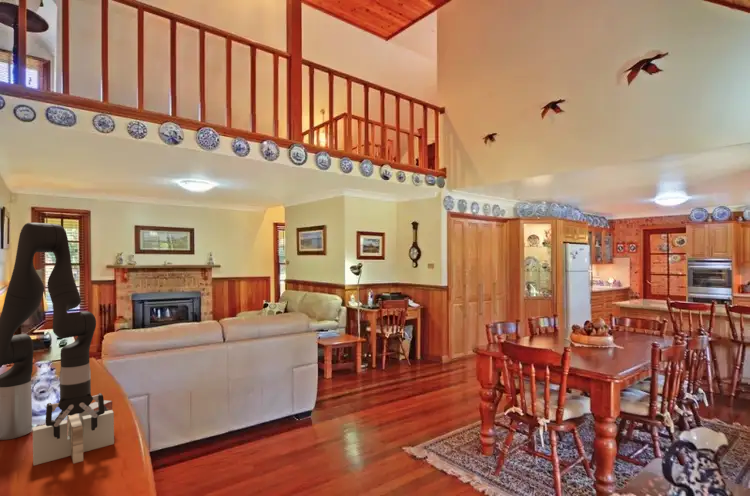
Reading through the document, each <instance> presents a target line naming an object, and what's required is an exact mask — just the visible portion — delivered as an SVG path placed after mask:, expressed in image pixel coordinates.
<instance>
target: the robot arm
mask: <svg viewBox="0 0 750 496" xmlns="http://www.w3.org/2000/svg"><path fill="white" fill-rule="evenodd" d="M69 244H70V243H69V239H68V234H67V231H66V230H65V228H64V227H63V226H62V225H61V224H57V223H47V222H27V223H25V224H24V225H23V226H22V228H21V230H20V233H19V237H18V242H17V248H16V255H15V260H14V265H13V270H12V273H11V276H10V280H9V283H8V287H7V290H6V293H5V297H4V300H3V306H2V310H1V312H0V367H1V366H7V365H12V366H11V367H10V368H9V369H8V370H6V371H4V372H3V373H1V374H0V441H3V440H4V441H5V440H11V439H12V440H13V439H16V438H20V437H23V436H25V435H27V434H29V433H31V432H33V416H32V415H33V413H32V412H33V410H32V409H33V408H32V405H33V403H32V401H33V399H32V397H33V395H32V375H33V370H34V369H33V368H34V367H33V365H34V342H33V338H32V337H31V336H30V335H29V334H27V333H20V334H15V333H16V332H17V330H19V328H20V326H22V325H23V324H24V323H25V322H26V321H27V320H28V319H30V317H32V316H33V314H35V313H36V311H37V310H38V309H39V307H40V306H41V303H42V299H43V297H44V296H43V295H44V292H45V286H44V282H43V281H42V279H41V277H40V275H39V274H38V272H37V270H36V268H35V265H34V257H35V255H36V253H53V255H54V257H55V264H54V267H53V269H52V271H51V272H50V275H49V277H48V280H47V291H48V295H49V297H50V301H51V303H52V310H53V312H52V313H53V314H52V332H53V334H54V335H55V336H56V337H57V338H59V339H69V338H74V337H77V338H76V339H75V341H73V342H72V343H69V344H67V345H64V346H63V347H62V348H61V349H60V371H59V378H58V379H59V401H58V402H56V403H55V402H54V403H51V402H48V403H46V409H45V410H46V411H45V425H46V426H53V431H54V437H57V439H60V425H59V424H60V423H61V422H62V421H64V420H66V419H65V418H67V415H70V416H71V415H74V414H78V415H79V414H80V413H83V412H84V411H86V412H87V413H88V414H90V415H91V416H92V417H91V430H92V431H93V430H95V428H97V417H98V416H99V415H101V414H104V412H105V411H104V400H105V399H104V395H103V393H101V392H99V393H97V394H96V395H92V386H91V385H92V379H91V375H92V374H91V366H90V365H91V364H90V347H91V345H92V340H93V337H94V334H95V331H96V326H97V320H96V317H95V315H94V314H93V313H92V312H90V311H87V310H86V311H77V312H72V313H69V312H68V311H70V310H72V309H75V308H77V307H79V306H80V305H81V303H82V298H81V294H80V292H79V289H78V285H77V284H76V281H75V278H74V273H73V267H72V258H71V251H70V246H69ZM14 334H15V335H14ZM93 401H94V402H98V408H99V410H97V411H96V412H95V411H94V410H93V409H92V408H91V407H90V406H89V405H90V404H91V403H93ZM57 408H59V410H61V411H60V412H59V413H58V415H57V416H56V418H55V419H53V417H52V416H53V413H54V412H55V411H56V409H57ZM52 419H53V420H52Z"/></svg>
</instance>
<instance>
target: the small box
mask: <svg viewBox="0 0 750 496" xmlns="http://www.w3.org/2000/svg"><path fill="white" fill-rule="evenodd" d="M89 406H90V407H91V408H92V409H93V410H94V411H95V412H96V411H97V410H99V408H98V402H96V401H94V402H91V403H90V405H89ZM109 410H112V411H113V400H105V399H104V411H109ZM87 415H90V414H88V413H87V412H86V411H84V412H83V413H80V414H78V416H79V418H80V421H81V423H82V416H87Z"/></svg>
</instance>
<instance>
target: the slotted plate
mask: <svg viewBox="0 0 750 496" xmlns="http://www.w3.org/2000/svg"><path fill="white" fill-rule="evenodd" d="M66 418H67V419H66V421H67V436H70V438H71V456H70V457H71V460H72V464H78V463H81V462H84V452H83V426H82V423H81V421H80V418H79V414H74V415H71V416H70V415H67V416H66Z"/></svg>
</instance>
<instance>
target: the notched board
mask: <svg viewBox="0 0 750 496" xmlns="http://www.w3.org/2000/svg"><path fill="white" fill-rule="evenodd" d="M114 413H115V412H114V411H113V409H112V410H109V411H105V412H104V414H101V415H99V416H98V417H97V428H95V430H93V431H92V430H91V417H92V416H91V415H87V416H82V426H83V453H85V452H89V451H92V450H97V449H101V448H104V447H108V446H111V445H115V421H114V420H115V419H114V417H115V415H114ZM59 425H60V439H57V437H54V431H53V426H46V424H43V425H38V426H34V427H33V426H32V463H33V466H37V465H40V464H44V463H48V462H51V461H56V460H60V459H64V458H67V457H71V438H70V436H68V421H67V419H64V420H62V422H61V423H60V424H59Z"/></svg>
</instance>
